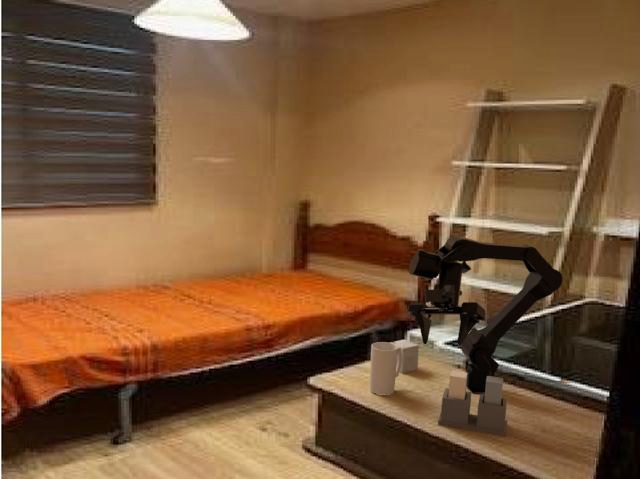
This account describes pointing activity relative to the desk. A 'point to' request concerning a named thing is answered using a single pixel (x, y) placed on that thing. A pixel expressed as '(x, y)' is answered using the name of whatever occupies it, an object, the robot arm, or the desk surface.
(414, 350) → the skincare box
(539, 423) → the desk surface
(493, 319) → the robot arm
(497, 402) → the slate key
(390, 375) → the mug
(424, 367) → the desk surface
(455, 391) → the beige block
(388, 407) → the desk surface
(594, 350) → the desk surface
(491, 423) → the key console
